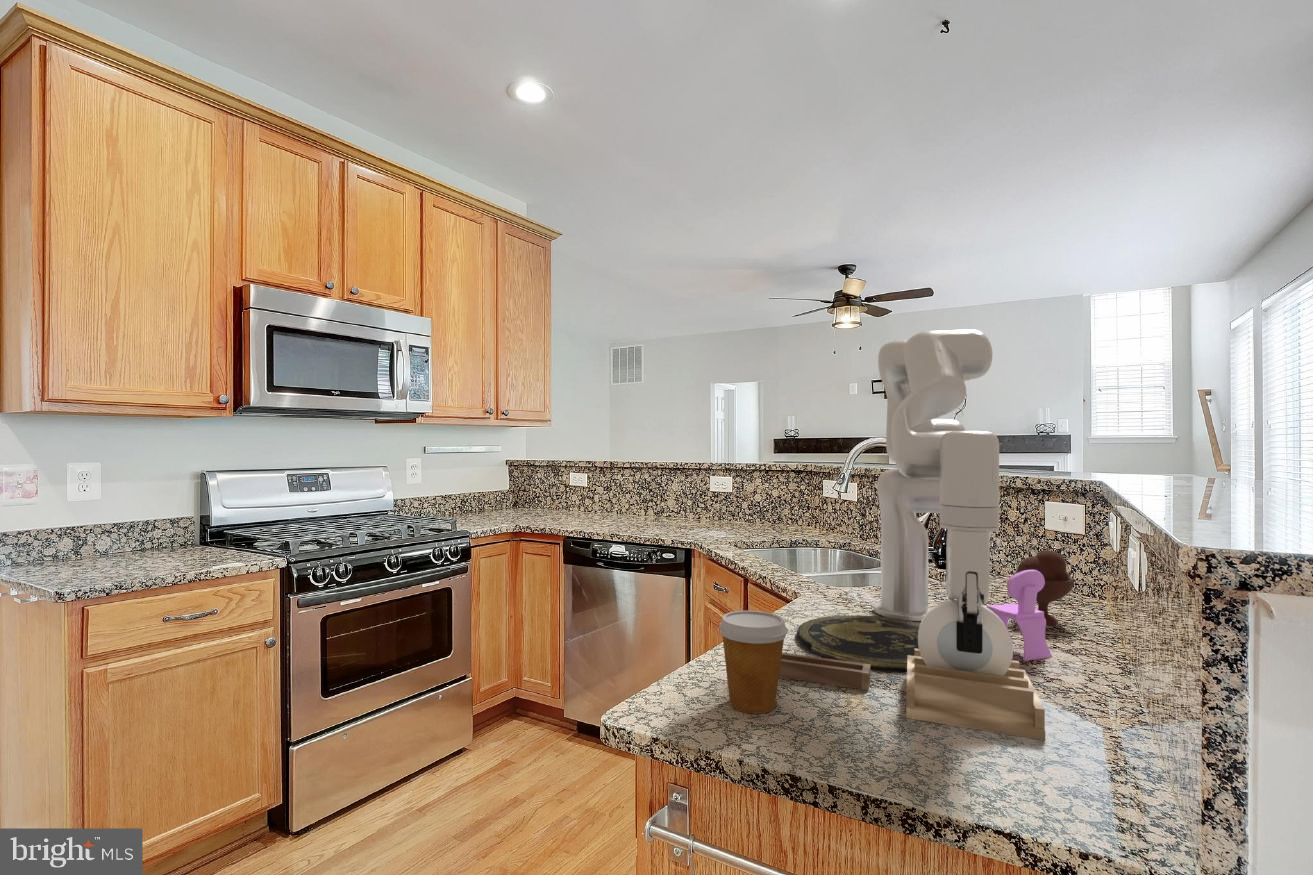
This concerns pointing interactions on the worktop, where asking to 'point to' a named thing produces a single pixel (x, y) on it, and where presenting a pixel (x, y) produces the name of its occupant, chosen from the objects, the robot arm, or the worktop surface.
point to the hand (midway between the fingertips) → (968, 648)
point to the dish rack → (975, 699)
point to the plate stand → (825, 671)
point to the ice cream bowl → (1049, 579)
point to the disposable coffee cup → (753, 658)
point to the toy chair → (1026, 612)
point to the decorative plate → (861, 640)
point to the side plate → (941, 641)
